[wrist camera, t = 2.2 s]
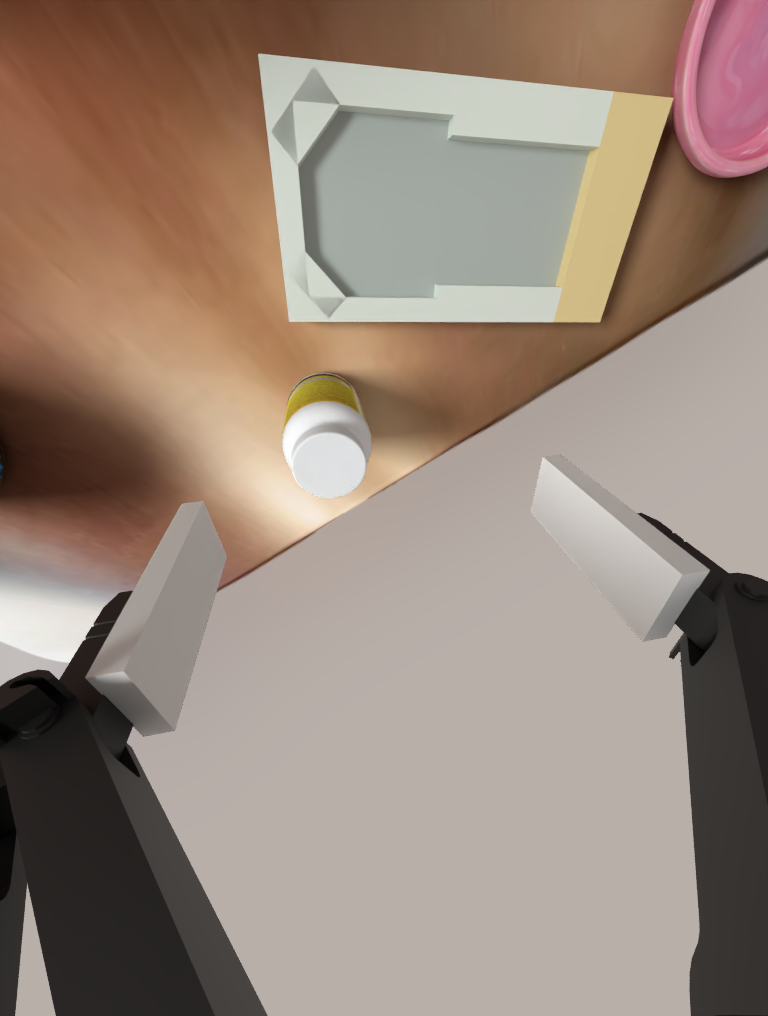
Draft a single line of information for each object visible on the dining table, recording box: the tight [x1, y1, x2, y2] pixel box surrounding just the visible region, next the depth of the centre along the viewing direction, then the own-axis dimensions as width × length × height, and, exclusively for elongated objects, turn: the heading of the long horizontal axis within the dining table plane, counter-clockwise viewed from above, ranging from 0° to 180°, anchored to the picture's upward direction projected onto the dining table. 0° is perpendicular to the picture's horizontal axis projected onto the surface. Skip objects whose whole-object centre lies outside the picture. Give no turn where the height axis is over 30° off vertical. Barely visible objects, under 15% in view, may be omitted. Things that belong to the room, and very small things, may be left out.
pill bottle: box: [282, 372, 372, 498], centre depth 26 cm, size 6×6×11 cm
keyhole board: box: [258, 54, 674, 322], centre depth 24 cm, size 24×12×2 cm, turn 89°
